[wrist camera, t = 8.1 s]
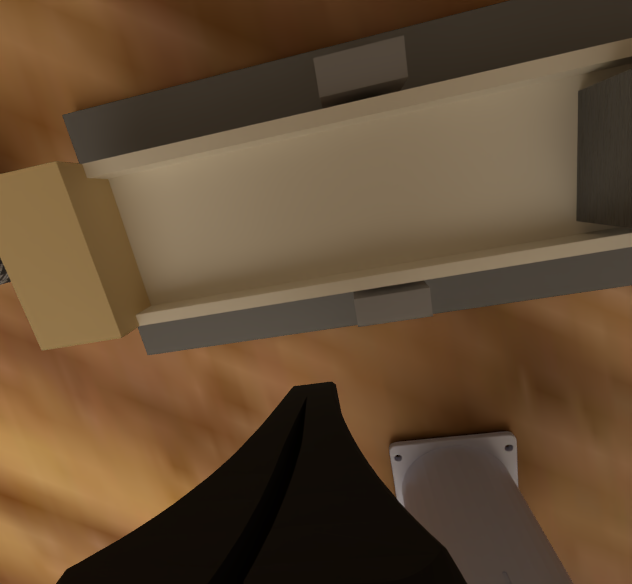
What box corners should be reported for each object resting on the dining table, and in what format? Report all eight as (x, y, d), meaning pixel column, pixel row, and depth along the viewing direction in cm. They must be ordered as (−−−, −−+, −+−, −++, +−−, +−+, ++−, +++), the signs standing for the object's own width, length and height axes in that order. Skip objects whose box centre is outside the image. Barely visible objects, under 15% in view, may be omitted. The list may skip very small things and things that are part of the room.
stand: (661, 273, 19) (817, 315, 12) (156, 348, 22) (85, 407, 16) (688, -36, 15) (931, -196, 9) (76, 118, 19) (-54, 84, 13)
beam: (719, 217, 14) (868, 228, 10) (112, 318, 18) (44, 355, 14) (744, 24, 12) (938, -56, 8) (59, 178, 16) (-37, 174, 12)
